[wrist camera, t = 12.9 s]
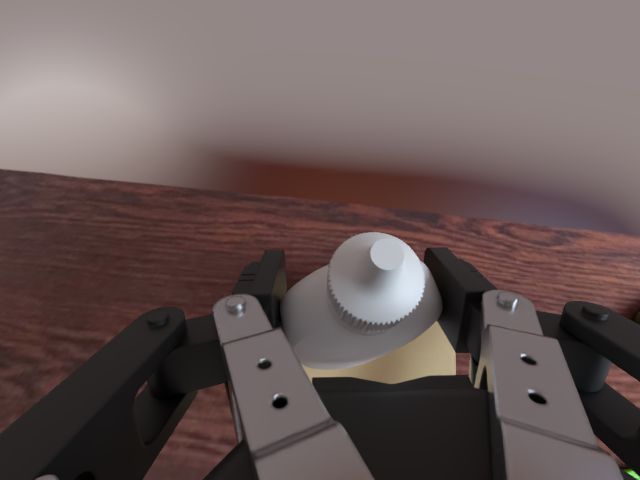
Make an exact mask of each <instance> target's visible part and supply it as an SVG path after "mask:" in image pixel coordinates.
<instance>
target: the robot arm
mask: <svg viewBox="0 0 640 480" xmlns="http://www.w3.org/2000/svg"><path fill="white" fill-rule="evenodd" d="M424 264H425V265H426V266H427V267H428V268H429V270H430V272H431V274H432V276H433V278H434V280H435V283H436V285H437V287H438V290H439V292H440V295H441V298H442V304H443V310H442V313H441V315H440V317H439V318H438V319H437V322H438V323H439V325H440V327H441V329H442V330H443V332H444V334H445V335H446V337H447V339H448V341H449V342H450V344H451V346H452V347H453V349H454V351H455V353H470V354H471V358H470V363H469V377H468V375H430V376H425V377H421V378H417V379H412V380H408V381H404V382H400V383H396V384H387V383H381V382H376V381H371V380H365V379H360V378H354V377H312V383H311V381H310V379H309V377H308V375H307V374H306V372H305V370H304V368H303V366H302V365H301V363H300V361H299V359H298V358H297V356H296V354H295V352H294V350H293V349H292V347H291V345H290V343H289V341H288V340H287V338H286V336H285V334H284V332H283V331H282V329H281V325H282V321H281V315H280V301H281V299H282V297H283V296H284V294H285V293H286V292H287V287H286V269H285V254H284V250H265V253H264V255H263V258H262V260H261V262H252V263H250V264H249V265H248V266H246V267H245V268H244V270H243V272H242V274H241V276H240V278H239V281H238V282H237V284H236V286H235V288H234V290H233V292H232V294H231V295H230V296H227V297H224V298H222V299H220V300H219V301H218V302H216V303H215V305H214V306H213V313H212V314H209V315H206V316H202V317H197V318H192V319H187V320H185V315H184V312H183V311H182V310H181V309H179V308H175V307H163V308H158V309H154V310H151V311H149V312H146V313H144V314H143V315H141V316H139V317H138V318H137V319H136V320H134V321H133V322H132V323H131V324H130V325H128V326H127V327H126V328H125V329H124V330H123V331H121V332H120V333H119V334H118V335H117V336H115V337H114V338H113V339H112V340H111V341H110V342H108V343H107V344H106V345H105V346H104V347H102V348H101V349H100V350H99V351H98V352H97V353H95V354H94V355H93V356H92V357H91V358H89V359H88V360H87V361H86V362H85V363H84V364H82V365H81V366H80V367H79V368H78V369H76V370H75V371H74V372H73V373H72V374H71V375H69V376H68V377H67V378H66V379H65V380H63V381H62V382H61V383H60V384H59V385H58V386H56V387H55V388H54V389H53V390H52V391H50V392H49V393H48V394H47V395H46V396H45V397H43V398H42V399H41V400H40V401H39V402H37V403H36V404H35V405H34V406H33V407H32V408H30V409H29V410H28V411H27V412H26V413H24V414H23V415H22V416H21V417H20V418H18V419H17V420H16V421H15V422H14V423H13V424H11V425H10V426H9V427H8V428H7V429H5V430H4V431H3V432H2V433H1V434H0V480H142V479H143V478H144V476H145V475H146V473H147V472H148V470H149V468H150V467H151V465H152V464H153V462H154V461H155V459H156V458H157V456H158V454H159V453H160V451H161V450H162V448H163V447H164V445H165V443H166V442H167V440H168V439H169V437H170V436H171V434H172V433H173V431H174V429H175V428H176V426H177V425H178V423H179V422H180V420H181V419H182V417H183V415H184V414H185V412H186V411H187V409H188V408H189V406H190V405H191V403H192V401H193V400H194V398H195V397H196V395H197V393H198V390H200V389H203V388H207V387H211V386H214V385H218V384H222V383H224V384H225V388H226V393H227V397H228V402H229V406H230V411H231V415H232V419H233V424H234V428H235V433H236V439H237V445H236V446H235V448H234V449H233V450H232V451H231V452H230V453H229V454H228V455H227V456H226V457H225V458H224V459H223V460H222V461H221V462H220V463H219V464H218V465H217V466H216V467H215V468H214V469H213V470H212V471H211V472H210V473H209V474H208V475H207V476H206V477H205V478H204V479H203V480H638V479H636V478H635V477H633V476H632V475H630V474H628V473H627V472H625V471H624V470H622V469H621V468H619V467H618V465H617V463H616V461H615V460H614V458H613V457H612V456H611V454H609V453H608V452H607V451H605V450H602V449H601V448H600V447H599V445H598V443H597V441H596V439H595V436H594V434H595V435H596V436H597V437H598V438H599V439H600V440H601V441H602V442H603V443H604V444H605V445H606V446H607V447H608V448H609V449H611V450H612V451H613V452H614V453H615V454H616V455H617V456H618V457H619V458H620V459H621V460H622V461H623V462H624V463H625V464H626V465H627V466H628V467H630V468H631V469H632V470H633V471H634V472H635V473H636V474H637V475H638V476H639V477H640V409H639V408H638V407H636V406H635V405H634V404H632V403H631V402H630V401H629V400H627V399H626V398H625V397H623V396H622V395H621V394H619V393H618V392H617V391H615V390H614V389H613V388H612V387H610V386H609V385H608V384H606V383H605V379H606V377H607V374H608V372H609V369H610V367H611V364H612V363H614V364H615V365H617V366H618V367H619V368H621V369H622V370H624V371H625V372H627V373H628V374H629V375H631V376H632V377H634V378H635V379H637V380H638V381H639V382H640V325H639V324H637V323H635V322H633V321H631V320H629V319H628V318H626V317H624V316H622V315H620V314H618V313H617V312H615V311H613V310H611V309H609V308H606V307H603V306H601V305H597V304H594V303H589V302H583V301H571V302H568V303H566V304H565V306H564V309H563V312H562V315H559V314H552V313H546V312H539V311H535V308H534V305H533V304H532V302H531V301H530V300H528V299H527V298H525V297H523V296H521V295H519V294H516V293H513V292H510V291H505V290H498V289H497V288H495V287H494V286H493V285H492V284H491V283H490V282H489V281H488V280H487V279H486V278H484V276H483V275H482V274H481V273H480V272H478V270H477V269H476V268H475V267H474V266H473V265H471V264H470V263H468V262H466V261H464V260H462V259H458V258H457V257H456V256H455V255H454V254H453V253H452V252H451V251H450V250H449V249H448V248H446V247H445V248H427V249H426V251H425V255H424ZM146 380H147V383H148V385H147V386H146V387H145V388H144V389H143V391H142V392H141V393H140V394H139V395H138V396H137V398H136V399H135V400H134V398H135V396H136V394H137V392H138V390H139V389H140V387H141V386H142V385H143V384H144V383H145V381H146Z"/></svg>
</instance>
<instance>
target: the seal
mask: <svg viewBox="0 0 640 480" xmlns="http://www.w3.org/2000/svg"><path fill="white" fill-rule="evenodd" d="M634 322H635V323H637V324H639V325H640V311H639V312H638V313H637V315H636V317H635V319H634Z"/></svg>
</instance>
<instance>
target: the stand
mask: <svg viewBox="0 0 640 480" xmlns="http://www.w3.org/2000/svg"><path fill="white" fill-rule="evenodd" d="M316 270H318V269H316ZM301 365H302V366H303V368H304V370H305V372H306V374H307V375H308V377H309V379H310V381H311V383H312V377H354V378H360V379H365V380H371V381H376V382H381V383H387V384H396V383H400V382H404V381H408V380H412V379H417V378H421V377H425V376H430V375H456V363H455V351H454V349H453V347H452V346H451V344H450V342H449V341H448V339H447V337H446V335H445V334H444V332H443V330H442V329H441V327H440V325H439V323H438V322H437V321H436V322H435V323H434V324H433V325H432V326H431V327H430V328H429V329H427V330H426V331H425V332H424V333H422V334H421V335H420V336H419V337H417V338H416V339H414V340H413V341H411V342H409V343H408V344H406V345H404V346H402V347H400V348H398V349H396V350H394V351H392V352H390V353H387V354H385V355H383V356H381V357H378V358H376V359H374V360H371V361H369V362H366V363H364V364H361V365H358V366H354V367H350V368H345V369H336V370H323V369H314V368H309V367H306V366H304V365H303V364H301Z"/></svg>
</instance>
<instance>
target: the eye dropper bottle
mask: <svg viewBox="0 0 640 480" xmlns="http://www.w3.org/2000/svg"><path fill="white" fill-rule="evenodd" d="M442 310H443V304H442V298H441V295H440V292H439V290H438V287H437V285H436V283H435V280H434V278H433V276H432V274H431V272H430V270H429V268H428V267H427V266H426V265H425V264H424V263H423V262H421V261H419V258H418V257H417V256H416V254H415V253H414V252H413V250H412V249H410V246H407V244H406V243H403V241H402V240H399V239H398V238H395V237H394V236H390V235H389V234H385V233H380V232H378V233H376V232H373V233H372V232H369V233H364V234H361V233H360V234H359V235H355V237H351V239H347V241H345V242H343V244H341V245H340V247H339V248H337V251H335V252H334V255H333V256H332V259H331V260H330V264H329V265H326V266H324V267H322V268H320V269H318V270H316V271H314V272H313V273H311V274H310V275H308V276H306V277H305V278H303V279H302V280H300V281H299V282H298V283H296V284H295V285H294V286H293V287H292V288H291V289H289V290H288V291H287V292H286V293H285V294H284V296H283V297H282V299H281V301H280V315H281V321H282V325H283V330H284V334H285V336H286V338H287V340H288V341H289V343H290V345H291V347H292V349H293V350H294V352H295V354H296V356H297V358H298V359H299V361H300V363H301V364H303V365H304V366H306V367H309V368H314V369H323V370H336V369H345V368H350V367H354V366H358V365H361V364H364V363H366V362H369V361H371V360H374V359H376V358H378V357H381V356H383V355H385V354H387V353H390V352H392V351H394V350H396V349H398V348H400V347H402V346H404V345H406V344H408V343H409V342H411V341H413V340H414V339H416V338H417V337H419V336H420V335H421V334H422V333H424V332H425V331H426V330H427V329H429V328H430V327H431V326H432V325H433V324H434V323H435V322H436V321H437V319H438V318H439V317H440V315H441V313H442Z"/></svg>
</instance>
